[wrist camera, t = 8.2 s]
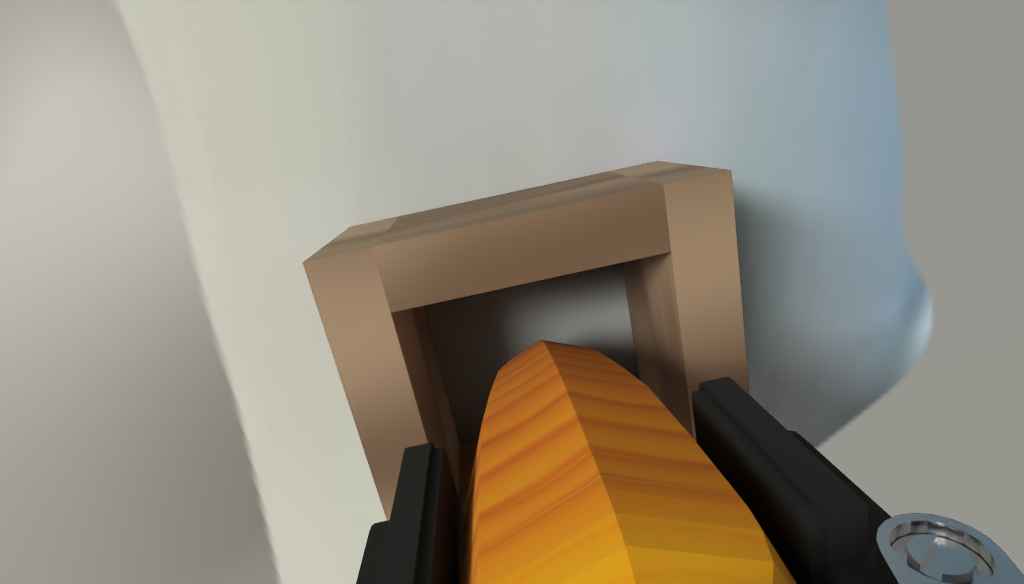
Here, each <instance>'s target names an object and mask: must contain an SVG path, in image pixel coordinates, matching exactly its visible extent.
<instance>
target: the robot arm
mask: <svg viewBox="0 0 1024 584" xmlns="http://www.w3.org/2000/svg"><path fill="white" fill-rule="evenodd" d="M691 398H692V407H693V416H694V424H695V433H696V442H697V444H698V445H699V446H700V448H701V449H702V450H703V451H704V453H705V454H706V455H707V456H708V458H709V459H710V460H711V461H712V463H713V464H714V465H715V466H716V468H717V469H718V470H719V471H720V473H721V474H722V475H723V476H724V478H725V479H726V480H727V481H728V483H729V484H730V485H731V486H732V488H733V489H734V490H735V491H736V492H737V494H738V495H739V496H740V497H741V499H742V500H743V501H744V502H745V504H746V505H747V506H748V508H749V509H750V511H751V512H752V514H753V515H754V517H755V519H756V520H757V522H758V523H759V525H760V526H761V528H762V530H763V531H764V533H765V534H766V536H767V537H768V539H769V541H770V542H771V544H772V545H773V547H774V548H775V550H776V551H777V553H778V555H779V556H780V558H781V559H782V561H783V562H784V564H785V566H786V567H787V569H788V570H789V572H790V573H791V575H792V577H793V578H794V580H795V581H796V583H797V584H1024V575H1023V574H1022V572H1021V571H1020V570H1019V569H1018V568H1017V567H1016V565H1015V564H1014V563H1013V562H1012V561H1011V559H1009V557H1008V556H1007V555H1006V553H1005V552H1004V551H1003V550H1002V549H1001V548H1000V547H999V546H998V545H997V544H996V543H994V542H993V541H992V540H991V539H990V538H989V537H987V536H986V535H984V534H982V533H981V532H979V531H977V530H976V529H974V528H973V527H971V526H968V525H966V524H963V523H961V522H958V521H956V520H953V519H950V518H945V517H942V516H937V515H933V514H922V513H909V514H901V515H897V516H894V517H891V516H890V515H888V514H887V513H886V512H885V511H884V510H883V509H882V508H881V507H879V506H878V505H877V504H876V503H875V502H874V501H873V500H872V499H871V498H870V497H869V496H867V495H866V494H865V493H864V492H863V491H862V490H861V489H860V488H859V487H857V486H856V485H855V484H854V483H853V482H852V481H851V480H850V479H848V478H847V477H846V476H845V475H844V474H843V473H842V472H841V471H840V470H839V469H837V468H836V467H835V466H834V465H833V464H832V463H831V462H830V461H829V460H827V459H826V458H825V457H824V456H823V455H822V454H821V453H820V452H819V451H817V450H816V449H815V448H814V447H813V446H812V445H811V444H810V443H809V442H807V441H806V440H805V439H804V438H803V437H802V436H801V435H799V434H798V433H796V432H795V431H788V430H787V429H785V428H784V427H783V426H782V425H781V424H780V423H779V422H778V421H777V420H776V419H775V418H774V417H772V416H771V415H770V414H769V413H768V412H767V411H766V410H765V409H764V408H763V407H762V406H761V405H759V404H758V403H757V402H756V401H755V400H754V399H753V398H752V397H751V396H750V395H749V394H747V393H746V392H745V391H744V390H743V389H742V388H741V387H740V386H739V385H738V384H737V383H736V382H734V381H733V380H732V379H731V378H730V377H723V378H718V379H714V380H709V381H705V382H701V383H700V384H699V390H697V391H693V392H692V395H691ZM464 520H465V518H464V515H463V511H462V507H461V504H460V500H459V497H458V493H457V489H456V486H455V482H454V478H453V475H452V471H451V468H450V464H449V460H448V457H447V453H446V450H445V448H444V447H441V448H435V445H434V443H433V442H430V443H425V444H421V445H416V446H412V447H407V448H405V450H404V453H403V458H402V463H401V468H400V473H399V477H398V482H397V487H396V492H395V497H394V501H393V506H392V511H391V516H390V520H388V521H384V522H379V523H375V524H373V525H372V526H371V529H370V532H369V535H368V539H367V543H366V547H365V551H364V555H363V559H362V563H361V567H360V571H359V575H358V579H357V582H356V584H459V575H460V563H461V552H462V541H463V531H464Z"/></svg>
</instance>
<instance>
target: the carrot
mask: <svg viewBox="0 0 1024 584" xmlns="http://www.w3.org/2000/svg"><path fill="white" fill-rule="evenodd" d="M459 584H797V583H796V581H795V580H794V578H793V577H792V575H791V573H790V572H789V570H788V569H787V567H786V566H785V564H784V562H783V561H782V559H781V558H780V556H779V555H778V553H777V551H776V550H775V548H774V547H773V545H772V544H771V542H770V541H769V539H768V537H767V536H766V534H765V533H764V531H763V530H762V528H761V526H760V525H759V523H758V522H757V520H756V519H755V517H754V515H753V514H752V512H751V511H750V509H749V508H748V506H747V505H746V504H745V502H744V501H743V500H742V499H741V497H740V496H739V495H738V494H737V492H736V491H735V490H734V489H733V488H732V486H731V485H730V484H729V483H728V481H727V480H726V479H725V478H724V476H723V475H722V474H721V473H720V471H719V470H718V469H717V468H716V466H715V465H714V464H713V463H712V461H711V460H710V459H709V458H708V456H707V455H706V454H705V453H704V451H703V450H702V449H701V448H700V446H699V445H698V444H697V443H696V441H695V440H694V439H693V438H692V437H691V435H690V434H689V433H688V432H687V430H686V429H685V428H684V427H683V426H682V425H681V424H680V423H679V421H678V420H677V419H676V418H675V417H674V416H673V415H672V413H671V412H670V411H669V410H668V409H667V408H666V407H665V405H664V404H663V403H662V402H661V401H660V400H659V399H658V398H657V396H656V395H655V394H654V393H653V392H652V391H651V390H650V388H649V387H648V386H647V385H645V384H644V383H643V382H642V381H640V380H639V379H638V378H636V377H635V376H634V375H632V374H631V373H630V372H628V371H627V370H626V369H624V368H623V367H622V366H620V365H619V364H617V363H616V362H614V361H613V360H611V359H609V358H608V357H606V356H605V355H603V354H601V353H600V352H598V351H597V350H593V349H588V348H584V347H579V346H574V345H568V344H562V343H555V342H549V341H543V340H539V341H538V342H536V343H535V344H533V345H532V346H530V347H529V348H527V349H526V350H524V351H523V352H521V353H519V354H518V355H516V356H515V357H513V358H512V359H510V360H509V361H508V362H507V363H506V364H505V365H504V366H503V367H502V368H501V369H500V370H499V371H498V373H497V376H496V378H495V381H494V383H493V386H492V389H491V391H490V395H489V398H488V402H487V406H486V410H485V413H484V417H483V421H482V425H481V430H480V435H479V440H478V445H477V450H476V455H475V460H474V464H473V469H472V474H471V479H470V484H469V489H468V494H467V499H466V509H465V520H464V531H463V541H462V552H461V563H460V575H459Z"/></svg>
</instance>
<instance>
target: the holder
mask: <svg viewBox="0 0 1024 584" xmlns="http://www.w3.org/2000/svg"><path fill="white" fill-rule="evenodd" d="M617 263H622V265H623V272H624V278H625V285H626V292H627V299H628V306H629V312H630V319H631V326H632V333H633V340H634V346H635V353H636V360H637V367H638V374H639V380H640V381H642V382H643V383H644V384H645V385H647V386H648V387H649V388H650V390H651V391H652V392H653V393H654V394H655V395H656V396H657V398H658V399H659V400H660V401H661V402H662V403H663V404H664V405H665V407H666V408H667V409H668V410H669V411H670V412H671V413H672V415H673V416H674V417H675V418H676V419H677V420H678V421H679V423H680V424H681V425H682V426H683V427H684V428H685V429H686V430H687V432H688V433H689V434H690V435H691V437H692V438H693V439H694V440H695V441H696V433H695V424H694V416H693V407H692V398H691V395H692V392H693V391H697V390H699V384H700V383H701V382H705V381H709V380H714V379H718V378H723V377H730V378H731V379H732V380H733V381H734V382H736V383H737V384H738V385H739V386H740V387H741V388H742V389H743V390H744V391H745V392H746V393H747V394H749V383H748V371H747V359H746V346H745V334H744V322H743V310H742V297H741V285H740V273H739V260H738V248H737V236H736V223H735V211H734V199H733V186H732V174H731V170H726V169H718V168H710V167H702V166H694V165H685V164H677V163H669V162H661V161H656V162H651V163H646V164H642V165H637V166H632V167H628V168H623V169H618V170H614V171H609V172H604V173H600V174H595V175H590V176H586V177H581V178H576V179H572V180H567V181H562V182H558V183H553V184H548V185H544V186H539V187H534V188H530V189H525V190H520V191H516V192H511V193H507V194H502V195H497V196H493V197H488V198H483V199H479V200H474V201H469V202H465V203H460V204H455V205H451V206H446V207H441V208H437V209H432V210H427V211H423V212H418V213H413V214H409V215H404V216H399V217H395V218H390V219H385V220H381V221H376V222H371V223H367V224H362V225H357V226H353V227H350V228H348V229H347V230H346V231H344V232H343V233H341V234H340V235H339V236H337V237H336V238H335V239H333V240H332V241H331V242H329V243H328V244H327V245H325V246H324V247H323V248H321V249H320V250H319V251H317V252H316V253H315V254H313V255H312V256H311V257H309V258H308V259H307V260H305V261H304V262H303V265H304V268H305V271H306V274H307V277H308V280H309V283H310V286H311V290H312V293H313V296H314V299H315V302H316V305H317V308H318V311H319V314H320V317H321V320H322V323H323V326H324V329H325V332H326V335H327V338H328V341H329V345H330V348H331V351H332V354H333V357H334V360H335V363H336V366H337V369H338V372H339V375H340V378H341V381H342V384H343V387H344V390H345V393H346V396H347V400H348V403H349V406H350V409H351V412H352V415H353V418H354V421H355V424H356V427H357V430H358V433H359V436H360V439H361V442H362V445H363V448H364V451H365V454H366V458H367V461H368V464H369V467H370V470H371V473H372V476H373V479H374V482H375V485H376V488H377V491H378V494H379V497H380V500H381V503H382V506H383V509H384V513H385V516H386V519H387V521H388V520H390V516H391V511H392V506H393V501H394V497H395V492H396V487H397V482H398V477H399V473H400V468H401V463H402V458H403V453H404V450H405V448H407V447H412V446H416V445H421V444H425V443H430V442H433V443H434V445H435V448H441V447H444V448H445V450H446V453H447V457H448V460H449V464H450V468H451V471H452V475H453V478H454V482H455V486H456V489H457V493H458V497H459V500H460V504H461V507H462V511H463V515H464V518H465V509H466V499H467V494H468V489H469V484H470V479H471V474H472V469H473V464H474V460H475V455H476V450H477V445H478V440H479V439H477V440H473V441H468V442H464V443H460V442H459V438H458V434H457V430H456V426H455V423H454V419H453V415H452V411H451V408H450V404H449V400H448V396H447V393H446V389H445V385H444V381H443V378H442V374H441V370H440V366H439V363H438V359H437V355H436V351H435V347H434V344H433V340H432V336H431V332H430V329H429V325H428V321H427V317H426V314H425V310H424V305H429V304H433V303H438V302H443V301H447V300H452V299H456V298H461V297H466V296H470V295H475V294H479V293H484V292H489V291H493V290H498V289H502V288H507V287H512V286H516V285H521V284H525V283H530V282H535V281H539V280H544V279H548V278H553V277H558V276H562V275H567V274H571V273H576V272H580V271H585V270H590V269H594V268H599V267H603V266H608V265H613V264H617ZM696 443H697V442H696Z"/></svg>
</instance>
